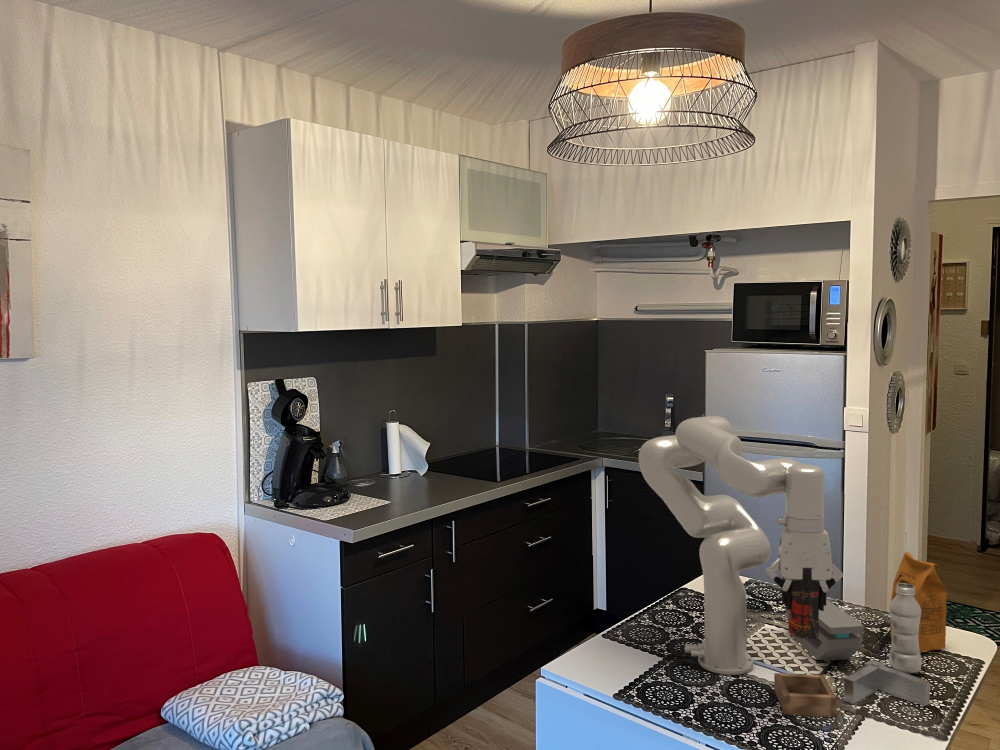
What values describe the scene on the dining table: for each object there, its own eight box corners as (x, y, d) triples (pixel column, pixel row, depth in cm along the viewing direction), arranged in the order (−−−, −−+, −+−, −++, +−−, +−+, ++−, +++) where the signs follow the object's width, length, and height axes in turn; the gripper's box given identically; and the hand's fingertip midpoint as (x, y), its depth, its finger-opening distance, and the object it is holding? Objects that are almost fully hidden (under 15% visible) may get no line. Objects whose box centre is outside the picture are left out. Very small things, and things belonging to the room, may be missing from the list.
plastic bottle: (925, 678, 178) (926, 591, 177) (893, 676, 180) (893, 590, 178) (916, 665, 185) (917, 581, 183) (885, 663, 186) (885, 580, 185)
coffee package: (919, 632, 203) (920, 548, 202) (952, 652, 191) (953, 563, 189) (883, 635, 202) (883, 550, 201) (913, 655, 190) (914, 565, 188)
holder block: (783, 714, 164) (783, 695, 164) (774, 690, 174) (774, 673, 174) (836, 716, 162) (836, 697, 162) (824, 692, 173) (824, 675, 172)
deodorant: (783, 628, 170) (784, 560, 169) (810, 626, 171) (811, 558, 169) (796, 639, 164) (796, 568, 163) (823, 638, 165) (824, 567, 164)
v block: (846, 704, 168) (846, 681, 167) (831, 679, 179) (832, 658, 178) (932, 708, 165) (932, 684, 165) (912, 682, 176) (912, 661, 176)
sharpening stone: (863, 672, 182) (863, 626, 181) (830, 674, 182) (830, 627, 181) (812, 629, 207) (813, 589, 206) (783, 631, 207) (783, 590, 206)
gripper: (764, 528, 163) (764, 613, 165) (853, 529, 161) (852, 616, 162) (758, 518, 171) (758, 600, 172) (843, 520, 168) (841, 603, 169)
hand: (803, 607), depth 167 cm, fingers closed on deodorant, 5 cm apart
